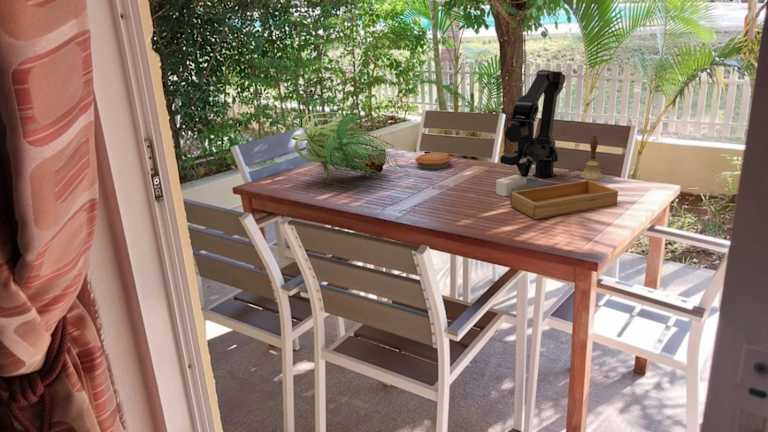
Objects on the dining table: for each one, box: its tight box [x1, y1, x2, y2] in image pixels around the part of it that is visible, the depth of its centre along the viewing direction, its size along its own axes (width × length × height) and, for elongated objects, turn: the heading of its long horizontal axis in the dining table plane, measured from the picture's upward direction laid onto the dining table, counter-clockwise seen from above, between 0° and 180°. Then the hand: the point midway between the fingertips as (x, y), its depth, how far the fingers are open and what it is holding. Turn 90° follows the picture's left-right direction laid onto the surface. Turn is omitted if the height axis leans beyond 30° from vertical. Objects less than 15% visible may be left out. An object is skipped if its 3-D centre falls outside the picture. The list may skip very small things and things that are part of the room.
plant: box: [291, 109, 415, 187], centre depth 237 cm, size 35×35×40 cm
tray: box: [509, 179, 619, 220], centre depth 197 cm, size 31×15×6 cm, turn 109°
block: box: [495, 174, 527, 197], centre depth 214 cm, size 10×5×5 cm, turn 123°
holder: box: [513, 175, 544, 192], centre depth 217 cm, size 13×9×3 cm, turn 121°
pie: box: [414, 152, 453, 171], centre depth 254 cm, size 15×16×5 cm
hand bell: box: [579, 134, 604, 181], centre depth 225 cm, size 8×8×16 cm
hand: (524, 179), depth 216 cm, fingers closed
